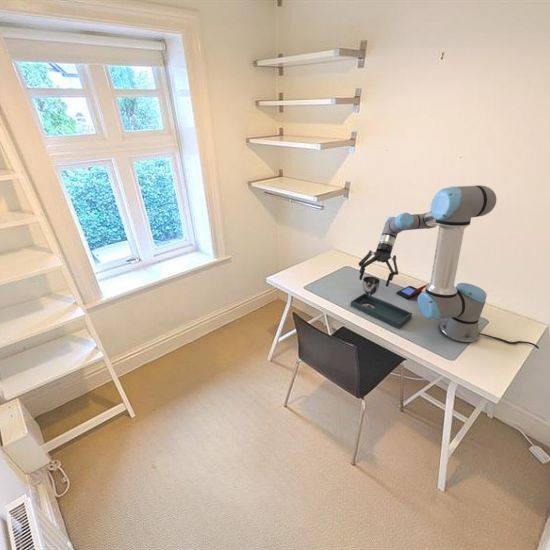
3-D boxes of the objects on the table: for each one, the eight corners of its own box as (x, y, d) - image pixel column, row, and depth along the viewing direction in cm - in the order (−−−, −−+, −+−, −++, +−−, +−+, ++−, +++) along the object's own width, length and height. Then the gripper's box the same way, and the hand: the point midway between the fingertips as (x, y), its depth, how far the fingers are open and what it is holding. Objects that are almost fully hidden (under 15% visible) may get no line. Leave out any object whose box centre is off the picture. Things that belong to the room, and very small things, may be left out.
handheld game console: (409, 287, 178) (412, 275, 174) (427, 295, 170) (430, 283, 166) (395, 293, 171) (397, 281, 168) (413, 302, 163) (415, 290, 160)
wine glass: (376, 310, 157) (380, 284, 150) (360, 309, 158) (363, 283, 151) (375, 302, 164) (379, 277, 157) (359, 300, 165) (362, 275, 158)
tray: (411, 318, 151) (412, 313, 150) (398, 328, 144) (399, 323, 143) (363, 297, 169) (364, 292, 167) (350, 306, 162) (351, 301, 160)
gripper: (411, 253, 160) (398, 291, 156) (363, 243, 172) (351, 278, 168) (410, 247, 154) (398, 286, 150) (361, 237, 166) (348, 274, 162)
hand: (373, 282), depth 159 cm, fingers open, 13 cm apart
